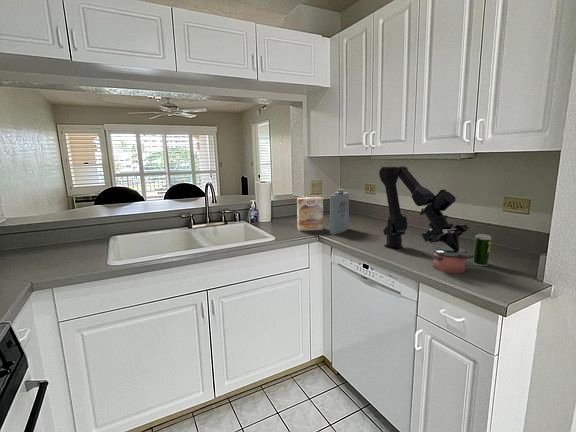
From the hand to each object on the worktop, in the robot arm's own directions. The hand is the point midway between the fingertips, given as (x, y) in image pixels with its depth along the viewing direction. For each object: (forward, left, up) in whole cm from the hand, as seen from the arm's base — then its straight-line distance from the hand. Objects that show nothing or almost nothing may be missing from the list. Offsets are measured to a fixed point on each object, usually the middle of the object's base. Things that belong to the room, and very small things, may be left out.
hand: (457, 251), depth 118 cm
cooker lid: (-2, 0, -1) cm, 2 cm away
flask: (-74, +6, -8) cm, 74 cm away
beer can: (+1, +15, -8) cm, 17 cm away
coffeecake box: (-89, -5, -8) cm, 89 cm away
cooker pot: (-3, +1, -8) cm, 9 cm away
